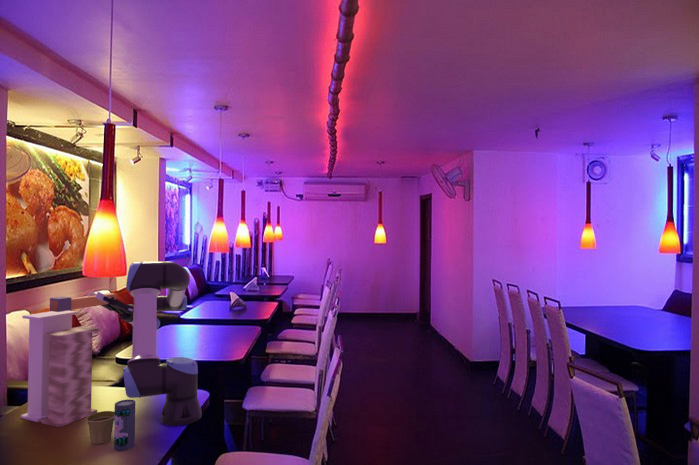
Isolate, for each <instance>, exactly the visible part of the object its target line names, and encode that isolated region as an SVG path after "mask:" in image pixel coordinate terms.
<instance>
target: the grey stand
mask: <svg viewBox="0 0 699 465" xmlns="http://www.w3.org/2000/svg"><path fill="white" fill-rule="evenodd" d="M74 315H79V311H77V310H69V311H62V312H54V311H50V310H49V311H44V312H38V313H32V314H25V315H22V316H21V317H22V319H24V320H26V319H27V320H29V322H28V328H29V329H28V365H27V366H28V368H27V369H28V372H27V373H28V374H27V379H28V380H27V412H26V413H23V414H21V415H20V419H24V420H27V421H32V422H36V423H38V422H41V420H43V419H46V418H48V397H49V340H50V337H43V334H44V333H49V332H55V331H60V330H65V329H70V328H73V316H74Z"/></svg>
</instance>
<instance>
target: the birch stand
mask: <svg viewBox="0 0 699 465" xmlns="http://www.w3.org/2000/svg"><path fill="white" fill-rule="evenodd" d="M95 332H100V328H97V327H90V326H83V325H80V326H76V327H72V328H70V329H65V330H60V331H55V332H49V333H44V334H43V337H50V340H49V397H48V418H46V419H43V420H41V421H40V422H41V424H43V425H44V424H45V425H47V426H51V427H56V428H61V427H64V426H66V425H69V424H71V423H74V422H76V421H79V420H81V419H84V418H87V417H88V416H89V415H91V414H94V413H97V412H98V409H97V408H92V385H93V384H92V380H93V378H92V377H93V376H92V375H93V333H95Z"/></svg>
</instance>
